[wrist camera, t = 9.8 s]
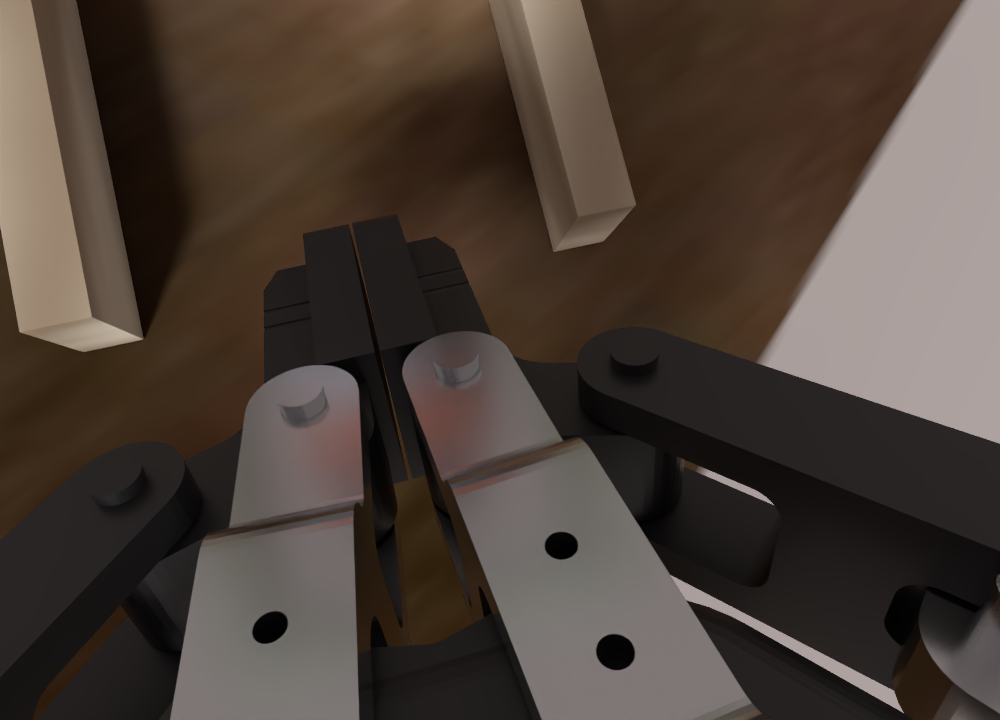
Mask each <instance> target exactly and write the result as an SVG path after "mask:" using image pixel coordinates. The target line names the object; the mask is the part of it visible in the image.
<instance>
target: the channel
mask: <svg viewBox="0 0 1000 720" xmlns="http://www.w3.org/2000/svg"><path fill="white" fill-rule="evenodd" d="M489 4H490V8H491V12H492V16H493V20H494V23H495V27H496V31H497V35H498V39H499V43H500V47H501V51H502V54H503V58H504V62H505V66H506V70H507V74H508V78H509V82H510V85H511V89H512V93H513V97H514V101H515V105H516V109H517V113H518V116H519V120H520V124H521V128H522V132H523V136H524V140H525V143H526V147H527V151H528V155H529V159H530V163H531V167H532V171H533V174H534V178H535V182H536V186H537V190H538V194H539V198H540V202H541V205H542V209H543V213H544V217H545V221H546V225H547V229H548V233H549V236H550V240H551V244H552V248H553V252H556V251H561V250H566V249H571V248H575V247H580V246H585V245H589V244H594V243H599V242H603V241H604V240H605V239H606V238H607V237H608V236H609V235H610V234H611V232H612V231H613V230H614V229H615V228H616V227H617V226H618V225H619V224H620V222H621V221H622V220H623V219H624V218H625V217H626V216H627V215H628V213H629V212H630V211H631V210H632V209H633V208H634V207H635V206H636V202H635V199H634V195H633V191H632V188H631V184H630V180H629V177H628V173H627V169H626V166H625V162H624V158H623V155H622V151H621V147H620V143H619V140H618V136H617V132H616V129H615V125H614V121H613V118H612V114H611V110H610V107H609V103H608V99H607V96H606V92H605V88H604V84H603V81H602V77H601V73H600V70H599V66H598V62H597V59H596V55H595V51H594V48H593V44H592V40H591V37H590V33H589V29H588V26H587V22H586V18H585V14H584V11H583V7H582V3H581V0H489ZM0 227H1V232H2V238H3V243H4V249H5V254H6V260H7V265H8V271H9V276H10V282H11V287H12V293H13V298H14V304H15V309H16V315H17V320H18V326H19V331H20V332H21V333H24V334H27V335H31V336H34V337H37V338H40V339H43V340H47V341H50V342H53V343H56V344H60V345H63V346H66V347H69V348H72V349H76V350H79V351H82V352H86V351H91V350H95V349H100V348H105V347H110V346H114V345H119V344H124V343H128V342H133V341H138V340H143V339H144V338H143V333H142V328H141V323H140V318H139V313H138V308H137V303H136V298H135V293H134V288H133V283H132V278H131V273H130V268H129V263H128V258H127V253H126V248H125V243H124V238H123V233H122V228H121V223H120V218H119V213H118V208H117V203H116V198H115V193H114V188H113V183H112V177H111V172H110V167H109V162H108V157H107V152H106V147H105V142H104V137H103V132H102V127H101V122H100V117H99V112H98V107H97V102H96V97H95V92H94V87H93V82H92V77H91V72H90V67H89V62H88V57H87V52H86V47H85V42H84V37H83V32H82V27H81V22H80V17H79V12H78V7H77V2H76V0H0Z"/></svg>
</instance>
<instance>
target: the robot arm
mask: <svg viewBox="0 0 1000 720" xmlns="http://www.w3.org/2000/svg"><path fill="white" fill-rule="evenodd" d="M352 225H353V229H354V234H355V238H356V243H357V248H358V252H359V257H360V261H361V266H362V270H363V275H364V280H365V284H366V289H367V293H368V298H369V302H370V307H371V311H370V307H369V303H368V299H367V295H366V291H365V287H364V283H363V279H362V275H361V271H360V267H359V263H358V259H357V255H356V252H355V248H354V244H353V240H352V236H351V232H350V228H349V225H348V224H347V225H342V226H338V227H333V228H328V229H323V230H318V231H314V232H309V233H304V234H303V240H304V250H305V260H306V265H302V266H298V267H293V268H288V269H284V270H279V271H277V272H276V273H275V275H274V276H273V278H272V279H271V281H270V282H269V284H268V285H267V287H266V288H265V290H264V313H265V315H264V329H265V331H264V382H265V384H264V385H263V386H261V387H260V388H259V389H258V390H257V391H256V392H255V393H254V395H253V396H252V397H251V399H250V401H249V403H248V405H247V408H246V411H245V418H244V425H243V428H242V429H241V430H240V431H239V432H238V433H236V434H235V435H233V436H232V437H230V438H229V439H227V440H225V441H223V442H222V443H220V444H218V445H216V446H214V447H212V448H210V449H208V450H205V451H203V452H201V453H199V454H197V455H195V456H193V457H191V458H189V459H187V460H185V461H184V459H183V457H182V455H181V454H180V453H179V451H178V450H176V449H175V448H173V447H172V446H170V445H167V444H164V443H159V442H139V443H133V444H129V445H125V446H122V447H119V448H116V449H113V450H111V451H109V452H106V453H104V454H102V455H101V456H99V457H97V458H95V459H93V460H92V461H90V462H89V463H87V464H86V465H85V466H83V467H82V468H81V469H80V470H78V471H77V472H76V473H75V474H74V475H73V476H72V477H70V478H69V479H68V480H67V481H66V482H65V483H64V484H63V485H62V486H60V487H59V488H58V489H57V490H56V491H55V492H54V493H53V494H51V495H50V496H49V497H48V498H47V499H46V500H45V501H44V502H43V503H41V504H40V505H39V506H38V507H37V508H36V509H35V510H34V511H33V512H31V513H30V514H29V515H28V516H27V517H26V518H25V519H24V520H22V521H21V522H20V523H19V524H18V525H17V526H16V527H15V528H14V529H12V530H11V531H10V532H9V533H8V534H7V535H6V536H5V537H4V538H2V539H1V540H0V720H33V716H34V712H35V708H36V705H37V703H38V701H39V699H40V697H41V695H42V693H43V692H44V690H45V689H46V688H47V686H48V685H49V684H50V683H51V681H52V680H53V679H54V678H55V677H56V676H57V675H58V674H59V673H60V671H61V670H62V669H63V668H64V667H65V666H66V665H67V664H68V662H69V661H70V660H71V659H72V658H73V657H74V656H75V655H76V654H77V652H78V651H79V650H80V649H81V648H82V647H83V646H84V645H85V644H86V642H87V641H88V640H89V639H90V638H91V637H92V636H93V635H94V634H95V632H96V631H97V630H98V629H99V628H100V627H101V626H102V625H103V624H104V622H105V621H106V620H107V619H108V618H109V617H110V616H111V615H112V614H113V612H114V611H115V610H116V609H117V608H118V607H119V606H121V607H122V608H123V610H124V611H125V612H126V614H127V615H128V617H127V618H126V619H125V620H124V621H123V622H122V623H121V625H120V626H119V627H118V628H117V629H116V630H115V631H114V633H113V634H112V635H111V636H110V637H109V638H108V639H107V641H106V642H105V643H104V644H103V645H102V646H101V647H100V648H99V650H98V651H97V652H96V653H95V654H94V655H93V656H92V658H91V659H90V660H89V661H88V662H87V663H86V664H85V666H84V667H83V668H82V669H81V670H80V671H79V672H78V673H77V675H76V676H75V677H74V678H73V679H72V680H71V681H70V683H69V684H68V685H67V686H66V687H65V688H64V689H63V691H62V692H61V693H60V694H59V695H58V696H57V697H56V698H55V700H54V701H53V702H52V703H51V704H50V705H49V706H48V708H47V709H46V710H45V711H44V712H43V713H42V714H41V716H40V717H39V718H38V719H37V720H1000V444H999V443H996V442H992V441H990V440H987V439H983V438H980V437H977V436H974V435H971V434H968V433H965V432H962V431H959V430H956V429H953V428H950V427H947V426H944V425H941V424H938V423H935V422H932V421H929V420H926V419H923V418H920V417H917V416H914V415H911V414H908V413H905V412H902V411H899V410H896V409H893V408H890V407H887V406H884V405H881V404H878V403H874V402H872V401H869V400H866V399H863V398H860V397H856V396H854V395H850V394H848V393H845V392H842V391H839V390H836V389H833V388H829V387H827V386H824V385H821V384H818V383H814V382H811V381H809V380H805V379H802V378H799V377H796V376H793V375H790V374H787V373H784V372H781V371H778V370H775V369H772V368H769V367H766V366H763V365H760V364H757V363H754V362H751V361H748V360H745V359H742V358H739V357H736V356H733V355H730V354H727V353H724V352H721V351H718V350H715V349H712V348H709V347H706V346H703V345H700V344H697V343H694V342H691V341H688V340H685V339H682V338H679V337H676V336H673V335H670V334H667V333H664V332H661V331H657V330H653V329H647V328H636V327H631V328H620V329H614V330H611V331H607V332H604V333H602V334H600V335H597V336H596V337H594V338H592V339H591V340H590V341H588V342H587V343H586V344H585V345H584V347H583V348H582V349H581V351H580V353H579V355H578V359H577V363H538V362H531V361H527V360H523V359H520V358H517V357H514V356H512V354H511V353H510V351H509V349H508V348H507V347H506V345H505V344H504V343H503V342H501V341H500V340H499V339H497V338H495V337H493V336H492V335H491V333H490V330H489V328H488V326H487V323H486V321H485V319H484V316H483V314H482V312H481V309H480V307H479V305H478V303H477V300H476V298H475V296H474V293H473V291H472V289H471V286H470V285H469V282H468V279H467V277H466V275H465V273H464V270H463V269H462V266H461V263H460V261H459V259H458V256H457V254H456V252H455V249H453V248H451V247H450V246H448V245H447V244H445V243H444V242H442V241H441V240H439V239H438V238H436V237H433V238H428V239H423V240H418V241H414V242H409V243H406V241H405V238H404V235H403V232H402V229H401V226H400V223H399V220H398V217H397V214H395V215H390V216H385V217H380V218H375V219H371V220H366V221H361V222H356V223H352ZM371 312H372V315H371ZM372 316H373V319H372ZM373 321H374V323H373ZM374 325H375V327H374ZM375 330H376V331H375ZM376 335H377V336H376ZM377 339H378V340H377ZM378 344H379V345H378ZM379 348H380V349H379ZM380 353H381V354H380ZM381 356H382V358H381ZM382 360H383V363H382ZM383 364H384V368H385V372H386V376H387V380H388V384H389V388H390V392H391V396H392V400H393V404H394V408H395V412H396V415H397V419H398V423H399V427H400V431H401V435H402V439H403V443H404V447H405V451H406V455H407V459H408V463H409V467H410V471H411V474H412V478H417V477H421V476H424V475H426V478H427V482H428V486H429V490H430V494H431V498H432V502H433V506H434V511H435V515H436V519H437V523H438V526H439V528H440V531H441V534H442V537H443V540H444V543H445V546H446V548H447V551H448V554H449V557H450V560H451V563H452V565H453V568H454V571H455V574H456V577H457V580H458V583H459V585H460V588H461V591H462V594H463V597H464V600H465V602H466V605H467V608H468V611H469V614H470V617H471V620H472V622H473V624H472V625H470V626H468V627H466V628H464V629H463V630H461V631H459V632H457V633H456V634H454V635H452V636H450V637H449V638H447V639H445V640H443V641H441V642H438V643H434V644H429V645H415V646H411V645H410V636H409V626H408V615H407V604H406V593H405V582H404V572H403V561H402V550H401V539H400V530H399V526H398V522H397V519H396V515H397V501H396V496H395V491H394V485H393V484H395V483H399V482H402V481H406V480H408V478H407V473H406V469H405V464H404V459H403V455H402V450H401V446H400V441H399V436H398V432H397V427H396V423H395V418H394V414H393V409H392V404H391V400H390V395H389V391H388V386H387V381H386V377H385V372H384V368H383ZM684 460H687V461H689V462H691V463H694V464H696V465H698V466H701V467H703V468H705V469H708V470H710V471H712V472H715V473H717V474H720V475H722V476H724V477H727V478H729V479H731V480H734V481H736V482H738V483H741V484H743V485H745V486H748V487H750V488H752V489H755V490H757V491H758V492H760V493H762V494H763V495H764V496H766V497H767V498H768V499H769V500H770V501H771V502H772V503H773V504H774V505H775V506H774V505H772V504H769V503H767V502H765V501H762V500H760V499H757V498H755V497H753V496H751V495H748V494H746V493H744V492H741V491H739V490H737V489H734V488H732V487H730V486H728V485H725V484H723V483H720V482H718V481H716V480H714V479H711V478H709V477H707V476H704V475H702V474H700V473H697V472H695V471H693V470H690V469H688V468H686V467H684ZM670 575H672V576H674V577H676V578H678V579H680V580H682V581H684V582H685V583H688V584H689V585H691V586H693V587H695V588H697V589H699V590H701V591H703V592H705V593H707V594H709V595H711V596H712V597H714V598H716V599H718V600H720V601H722V602H724V603H726V604H728V605H730V606H732V607H734V608H736V609H738V610H740V611H741V612H743V613H745V614H747V615H749V616H751V617H753V618H755V619H757V620H759V621H761V622H763V623H765V624H767V625H769V626H770V627H772V628H775V629H776V630H778V631H780V632H782V633H784V634H786V635H788V636H790V637H792V638H794V639H796V640H797V641H799V642H801V643H803V644H805V645H807V646H809V647H811V648H813V649H815V650H817V651H819V652H821V653H823V654H825V655H826V656H828V657H830V658H832V659H835V660H836V661H838V662H840V663H842V664H844V665H846V666H848V667H850V668H852V669H853V670H856V671H857V672H859V673H861V674H863V675H865V676H867V677H869V678H871V679H873V680H875V681H877V682H879V683H880V684H882V685H884V686H886V687H888V688H890V689H892V690H894V691H895V694H896V697H897V700H898V703H899V705H900V706H901V708H902V710H903V712H904V713H902V712H900V711H899V710H897V709H895V708H893V707H892V706H890V705H888V704H886V703H884V702H883V701H881V700H879V699H877V698H876V697H874V696H872V695H870V694H868V693H867V692H865V691H863V690H861V689H860V688H858V687H856V686H854V685H852V684H851V683H849V682H847V681H845V680H844V679H842V678H840V677H838V676H837V675H835V674H833V673H831V672H830V671H828V670H826V669H824V668H822V667H820V666H819V665H817V664H815V663H814V662H812V661H810V660H808V659H806V658H805V657H803V656H801V655H799V654H798V653H796V652H794V651H792V650H791V649H789V648H787V647H785V646H783V645H782V644H780V643H778V642H776V641H775V640H773V639H771V638H769V637H768V636H766V635H764V634H762V633H760V632H759V631H757V630H755V629H753V628H752V627H750V626H748V625H746V624H744V623H743V622H741V621H739V620H737V619H735V618H733V617H731V616H729V615H726V614H724V613H721V612H719V611H716V610H714V609H712V608H710V607H706V606H703V605H700V604H696V603H693V602H689V601H686V600H685V598H684V596H683V595H682V593H681V592H680V590H679V588H678V587H677V585H676V584H675V582H674V581H673V579H672V578H671V576H670Z"/></svg>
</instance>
